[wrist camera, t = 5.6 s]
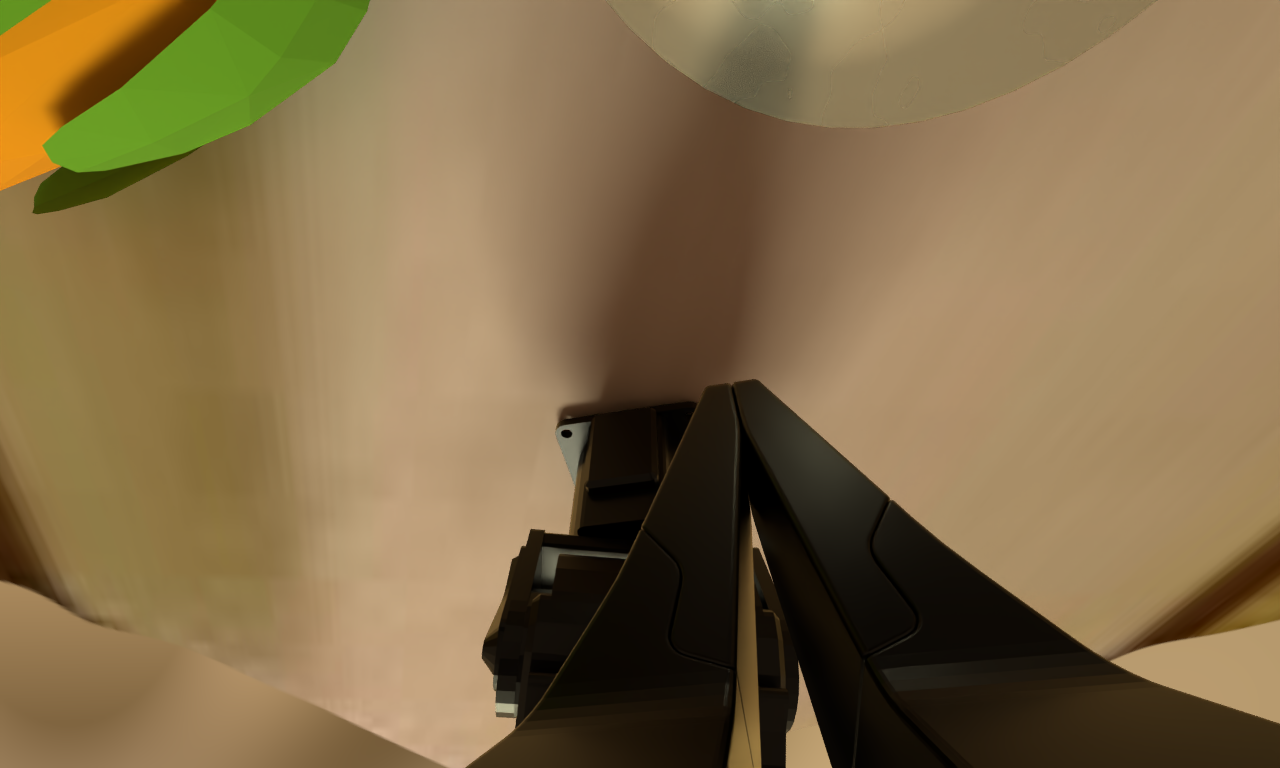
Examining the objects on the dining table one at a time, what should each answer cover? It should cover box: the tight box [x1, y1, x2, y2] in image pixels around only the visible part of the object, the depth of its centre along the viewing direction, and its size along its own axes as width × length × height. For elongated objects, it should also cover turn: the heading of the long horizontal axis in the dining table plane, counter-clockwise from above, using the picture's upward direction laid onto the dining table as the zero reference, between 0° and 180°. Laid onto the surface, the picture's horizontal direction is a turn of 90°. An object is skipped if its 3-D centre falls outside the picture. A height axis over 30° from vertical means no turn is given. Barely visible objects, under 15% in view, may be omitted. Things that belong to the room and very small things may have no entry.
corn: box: [0, 0, 370, 214], centre depth 13 cm, size 7×8×20 cm
